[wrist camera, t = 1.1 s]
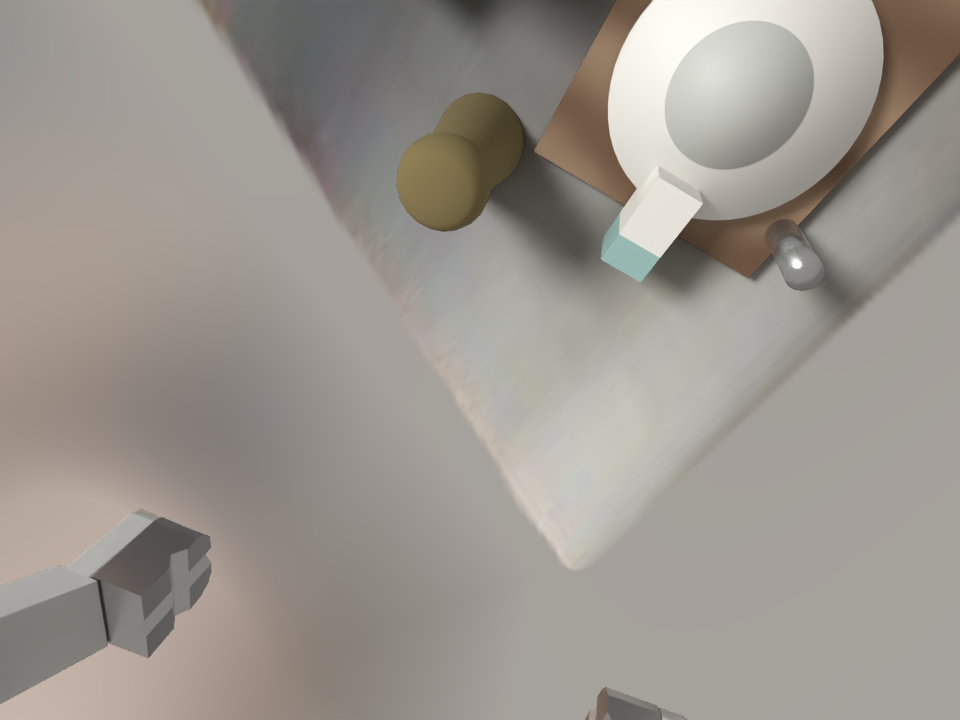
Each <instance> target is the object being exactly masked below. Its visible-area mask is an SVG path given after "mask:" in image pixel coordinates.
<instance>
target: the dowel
mask: <svg viewBox="0 0 960 720" xmlns="http://www.w3.org/2000/svg"><path fill="white" fill-rule="evenodd" d="M765 240H766V242H767V244H768V246H769V248H770V251H771V253H772V255H773V257H774V259H775V261H776V263H777V265H778V267H779V269H780V271H781V273H782V275H783V277H784V279H785V281H786V283H787V285H788V286H789V287H790V288H792V289H794V290H799V291H803V290H809V289H811V288H814V287H815V286H817V285H818V284H819V283H820V282H821V281H822V280H823V278H824V275H825V267H824V265H823V264H822V262H821V261H820V259H819V257H818V256H817V254H816V253H815V251H814V250H813V248H812V247H811V245H810V243H809V242H808V240H807V239H806V237H805V236H804V234H803V232H802V231H801V229H800V228H799V226H798V225H797V223H796V222H794V221H793V220H790V219H781V220H778V221H775V222H774V223H772V224H771V225H770V226H769V227H768V228H767V230H766V233H765Z"/></svg>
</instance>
